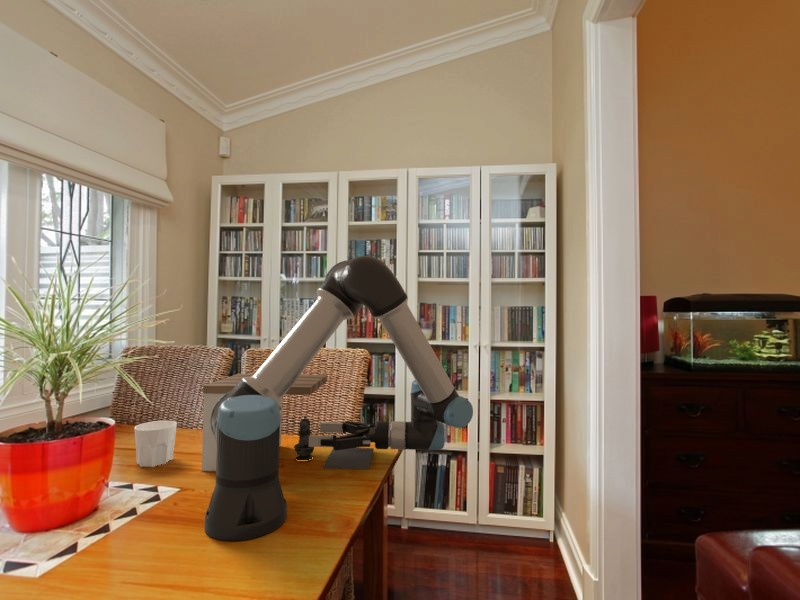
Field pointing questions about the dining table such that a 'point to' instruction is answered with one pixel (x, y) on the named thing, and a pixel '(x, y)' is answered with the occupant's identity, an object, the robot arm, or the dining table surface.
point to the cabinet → (223, 386)
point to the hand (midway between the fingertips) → (314, 433)
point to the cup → (155, 442)
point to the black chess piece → (304, 441)
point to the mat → (350, 458)
